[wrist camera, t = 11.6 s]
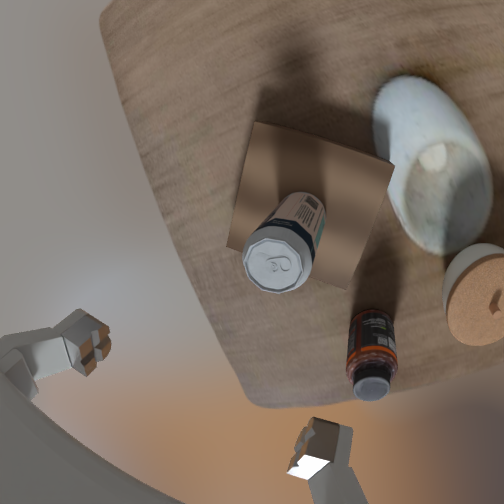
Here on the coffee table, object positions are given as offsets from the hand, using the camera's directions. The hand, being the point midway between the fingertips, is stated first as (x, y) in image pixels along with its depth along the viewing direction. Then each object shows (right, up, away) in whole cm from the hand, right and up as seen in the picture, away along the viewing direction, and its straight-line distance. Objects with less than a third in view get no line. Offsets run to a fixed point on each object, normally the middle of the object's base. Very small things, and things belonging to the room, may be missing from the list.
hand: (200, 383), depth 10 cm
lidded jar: (+28, +2, +20) cm, 35 cm away
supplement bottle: (+17, -5, +27) cm, 33 cm away
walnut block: (+8, +10, +23) cm, 27 cm away
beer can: (+7, +8, +20) cm, 23 cm away
